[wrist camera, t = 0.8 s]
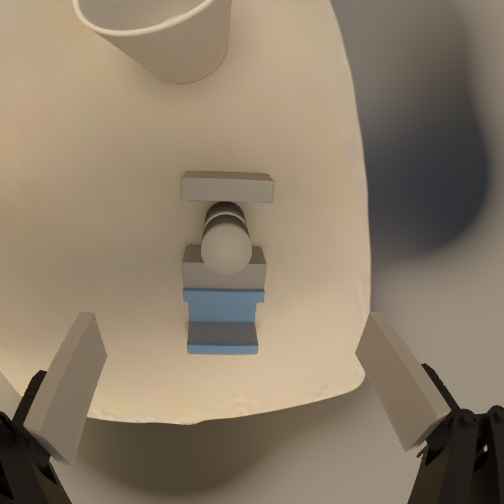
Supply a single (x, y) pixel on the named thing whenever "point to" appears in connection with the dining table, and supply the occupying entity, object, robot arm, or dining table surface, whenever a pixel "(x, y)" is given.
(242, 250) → the plug
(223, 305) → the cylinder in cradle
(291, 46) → the dining table surface
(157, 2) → the cup
